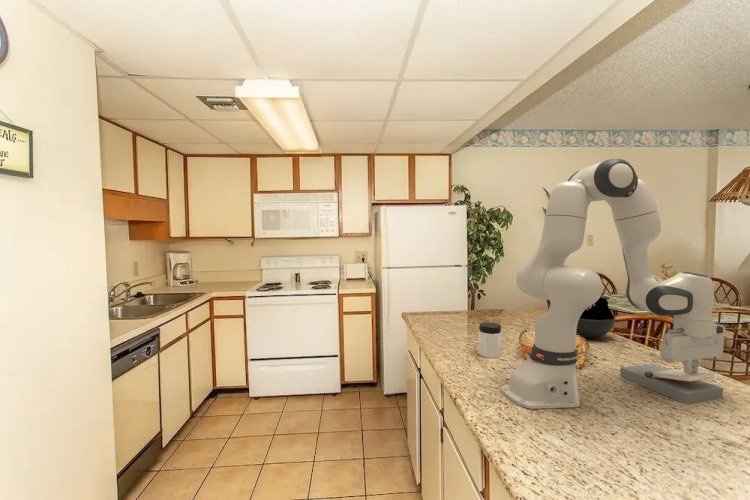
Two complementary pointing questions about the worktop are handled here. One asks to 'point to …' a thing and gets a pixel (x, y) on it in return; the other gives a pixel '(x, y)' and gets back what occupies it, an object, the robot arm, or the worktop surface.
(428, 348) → the worktop surface
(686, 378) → the tile
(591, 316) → the coal bowl
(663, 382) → the stand
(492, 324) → the jar
